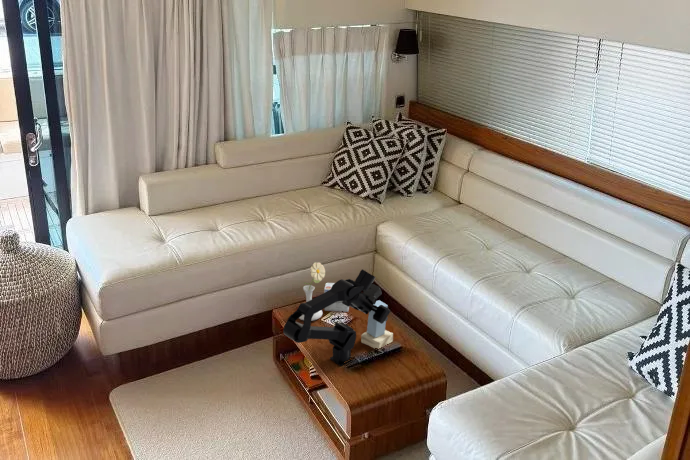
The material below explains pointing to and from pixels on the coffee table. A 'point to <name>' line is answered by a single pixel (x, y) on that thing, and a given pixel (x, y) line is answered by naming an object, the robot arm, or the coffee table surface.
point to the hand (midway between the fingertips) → (378, 315)
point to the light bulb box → (337, 305)
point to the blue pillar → (376, 323)
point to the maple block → (377, 339)
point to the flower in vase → (317, 275)
